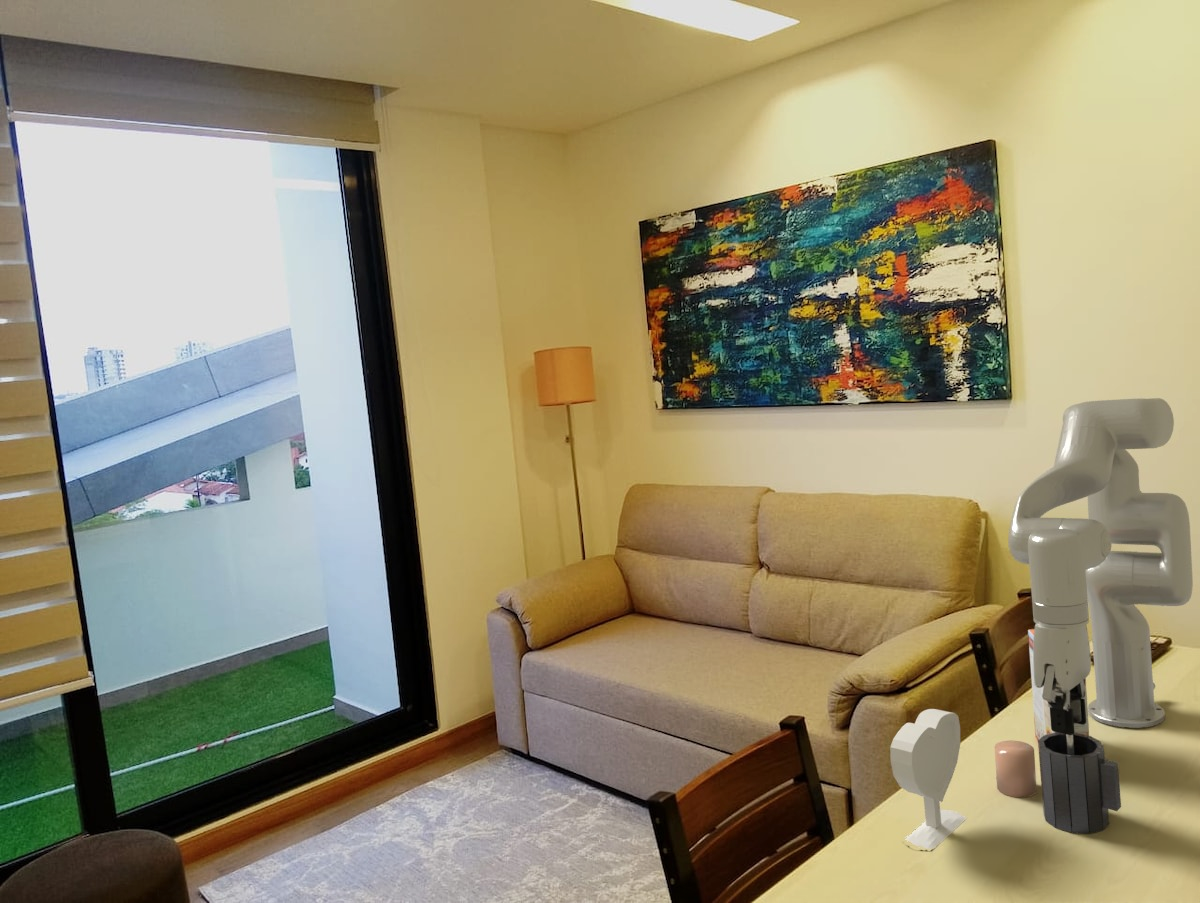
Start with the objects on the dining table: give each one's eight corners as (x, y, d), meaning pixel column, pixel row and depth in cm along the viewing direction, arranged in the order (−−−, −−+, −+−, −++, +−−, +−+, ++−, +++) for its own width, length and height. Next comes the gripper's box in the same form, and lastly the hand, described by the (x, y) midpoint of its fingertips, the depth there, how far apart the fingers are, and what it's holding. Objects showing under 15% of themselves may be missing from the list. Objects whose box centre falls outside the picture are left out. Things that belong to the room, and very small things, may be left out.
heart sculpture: (925, 857, 138) (914, 743, 136) (894, 847, 141) (883, 735, 139) (972, 812, 148) (962, 705, 146) (942, 804, 152) (932, 699, 150)
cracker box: (1094, 771, 156) (1086, 652, 154) (1056, 772, 157) (1047, 654, 155) (1069, 735, 169) (1061, 625, 167) (1034, 737, 171) (1025, 627, 168)
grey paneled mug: (1058, 798, 149) (1053, 727, 148) (1131, 818, 141) (1126, 743, 140) (1034, 821, 143) (1028, 748, 142) (1109, 844, 135) (1103, 766, 134)
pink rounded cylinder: (1006, 776, 158) (1004, 737, 157) (1042, 786, 153) (1040, 746, 153) (990, 790, 154) (988, 750, 153) (1027, 801, 149) (1024, 759, 149)
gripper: (1057, 593, 147) (1066, 703, 149) (1010, 623, 137) (1020, 741, 139) (1108, 599, 142) (1116, 713, 144) (1062, 631, 131) (1072, 754, 133)
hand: (1068, 726), depth 141 cm, fingers closed on plunger, 3 cm apart
